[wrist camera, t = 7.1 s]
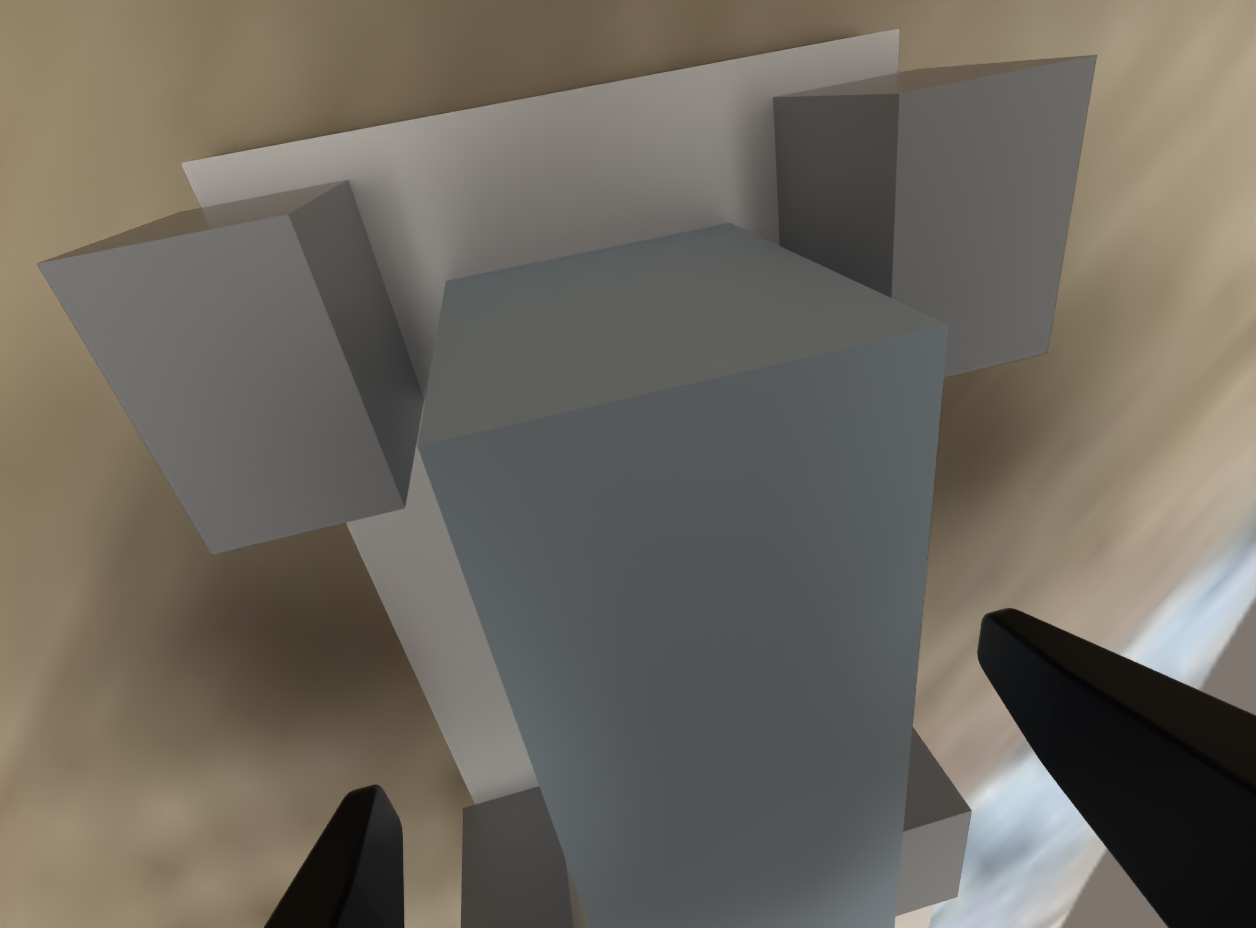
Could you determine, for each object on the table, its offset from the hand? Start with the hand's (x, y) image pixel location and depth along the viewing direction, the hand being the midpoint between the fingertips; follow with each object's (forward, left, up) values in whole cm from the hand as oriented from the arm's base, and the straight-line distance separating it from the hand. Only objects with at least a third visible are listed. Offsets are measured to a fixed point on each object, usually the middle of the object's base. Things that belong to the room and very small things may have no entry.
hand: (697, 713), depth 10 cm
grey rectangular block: (0, 0, -3) cm, 3 cm away
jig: (0, 0, -4) cm, 4 cm away
